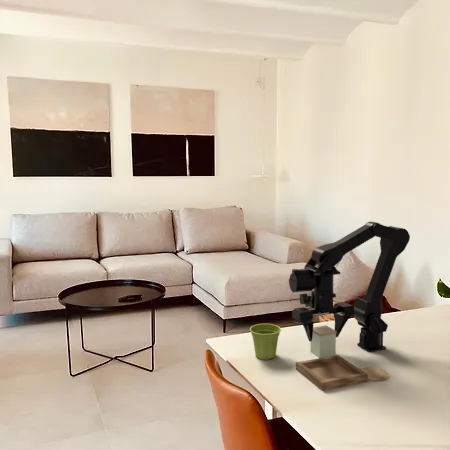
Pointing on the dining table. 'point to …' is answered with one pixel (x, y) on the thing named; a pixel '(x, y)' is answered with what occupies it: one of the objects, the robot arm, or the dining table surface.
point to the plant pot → (265, 340)
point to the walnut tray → (331, 372)
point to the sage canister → (323, 342)
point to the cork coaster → (375, 373)
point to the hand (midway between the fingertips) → (323, 339)
